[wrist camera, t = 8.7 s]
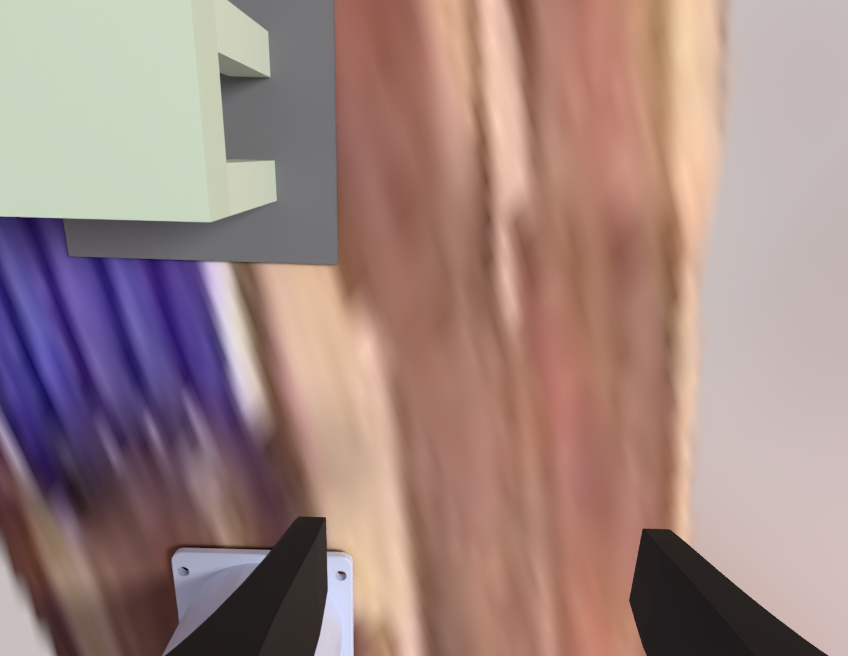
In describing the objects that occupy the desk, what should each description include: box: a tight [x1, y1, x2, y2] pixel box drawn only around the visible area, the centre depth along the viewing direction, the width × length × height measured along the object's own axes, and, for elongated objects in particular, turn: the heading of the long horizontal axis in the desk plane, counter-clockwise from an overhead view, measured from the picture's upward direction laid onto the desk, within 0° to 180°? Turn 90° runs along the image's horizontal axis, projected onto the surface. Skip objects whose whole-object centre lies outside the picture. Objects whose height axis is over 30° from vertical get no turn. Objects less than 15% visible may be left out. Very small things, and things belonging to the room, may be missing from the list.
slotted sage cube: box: [0, 0, 277, 222], centre depth 16 cm, size 6×6×6 cm
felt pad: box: [63, 0, 338, 265], centre depth 19 cm, size 10×10×1 cm
